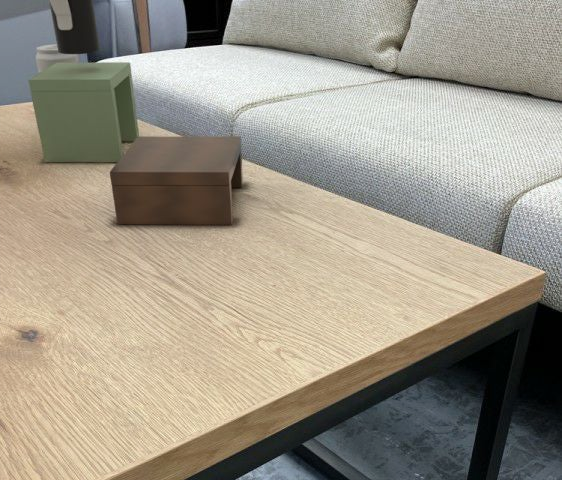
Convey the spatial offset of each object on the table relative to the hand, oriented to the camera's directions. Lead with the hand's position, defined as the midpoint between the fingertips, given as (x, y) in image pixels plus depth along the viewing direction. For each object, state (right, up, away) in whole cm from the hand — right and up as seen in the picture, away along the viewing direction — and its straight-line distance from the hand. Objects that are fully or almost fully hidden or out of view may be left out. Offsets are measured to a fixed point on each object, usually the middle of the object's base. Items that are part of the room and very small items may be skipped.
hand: (74, 25), depth 94 cm
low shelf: (+16, -26, -10) cm, 32 cm away
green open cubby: (0, -14, +9) cm, 17 cm away
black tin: (0, -3, +2) cm, 3 cm away
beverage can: (-7, -6, +21) cm, 23 cm away
